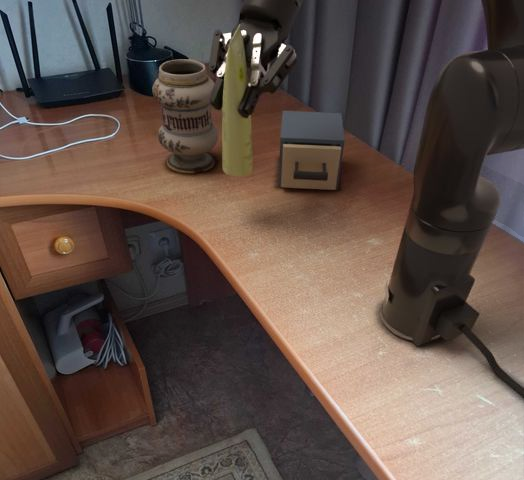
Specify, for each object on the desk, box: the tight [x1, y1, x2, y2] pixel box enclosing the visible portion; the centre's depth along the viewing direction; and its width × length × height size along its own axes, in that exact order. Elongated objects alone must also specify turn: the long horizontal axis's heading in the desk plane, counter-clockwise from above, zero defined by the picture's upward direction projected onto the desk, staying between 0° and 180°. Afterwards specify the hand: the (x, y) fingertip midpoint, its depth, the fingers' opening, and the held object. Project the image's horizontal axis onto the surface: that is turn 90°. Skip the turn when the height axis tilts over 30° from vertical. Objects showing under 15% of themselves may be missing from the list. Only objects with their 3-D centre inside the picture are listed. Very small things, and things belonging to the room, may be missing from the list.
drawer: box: [280, 142, 341, 191], centre depth 89 cm, size 17×10×8 cm, turn 176°
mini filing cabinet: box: [277, 110, 346, 191], centre depth 92 cm, size 13×12×10 cm
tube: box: [221, 25, 253, 178], centre depth 70 cm, size 6×5×20 cm
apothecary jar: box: [152, 58, 220, 174], centre depth 91 cm, size 12×12×18 cm
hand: (228, 110), depth 68 cm, fingers closed on tube, 4 cm apart
